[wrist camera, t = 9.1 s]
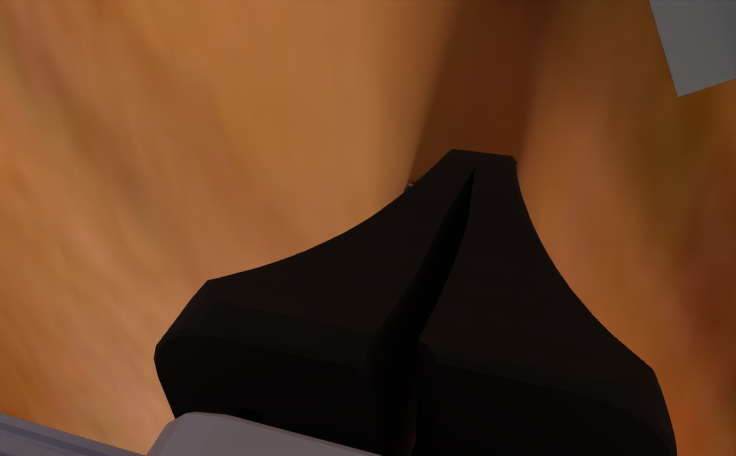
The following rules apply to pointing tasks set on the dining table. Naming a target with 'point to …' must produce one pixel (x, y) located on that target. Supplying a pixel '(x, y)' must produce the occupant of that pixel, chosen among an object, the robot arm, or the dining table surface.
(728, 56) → the board
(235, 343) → the robot arm
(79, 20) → the dining table surface
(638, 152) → the dining table surface
